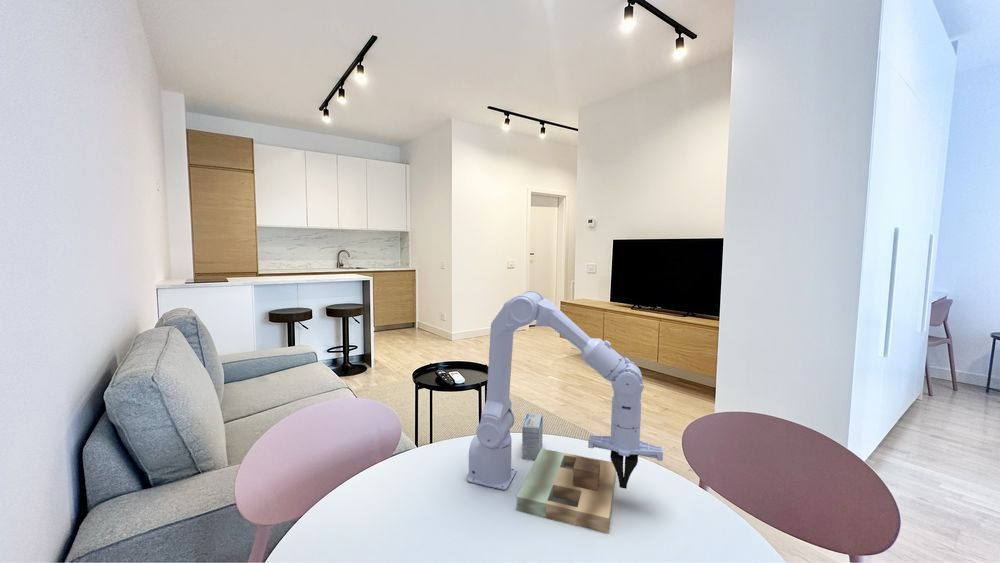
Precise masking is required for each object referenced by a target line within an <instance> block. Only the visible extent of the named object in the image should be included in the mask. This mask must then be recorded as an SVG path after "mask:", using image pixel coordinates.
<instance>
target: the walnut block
mask: <svg viewBox="0 0 1000 563" xmlns="http://www.w3.org/2000/svg"><path fill="white" fill-rule="evenodd" d="M580 456H581V455H578V456H577V458H576V461H575V464H574V468H573V486H575V487H580V488H584V489H589V490H594V491H597V489H598V484H599V478H600V460H601V459H599V460H595V459H596V458H594V459H590V458H591V457H588V458H585V457H586V456H583V457H580Z"/></svg>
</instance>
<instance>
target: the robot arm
mask: <svg viewBox="0 0 1000 563" xmlns="http://www.w3.org/2000/svg"><path fill="white" fill-rule="evenodd" d="M534 321H536V322H535V324H534V326H535V327H547V328H551V329H553V330H554V331H555V332H557V334H560V336H561V337H563V338H565V340H567V341H568V343H571V344H572V345H573V346H575V347H576V349H579V350H580V352H581V358H582V359H581V360H583V362H584V363H586V364H587V365H588V366H589V367H591V369H593V370H594V371H595V372H596V373H597V374H598V375H600V377H602V378H603V379H605V380H606V381H609V383H611V387H612V390H613V397H612V399H611V418H610V435H592V434H590V435H589V436H588V439H587V440H588V444H587V447H588V448H589V449H594V448H596V449H601V450H608V451H610V455H609V457H610V462H612V463H613V465H614V467H615V470H616V475H617V479H618V485H619V486H618V488H621V489H625V490H626V489H627V488H628V483H629V479H630V476H631V474H632V472H633V471H634V469H635V468H636V466H637V465H638V462H639V456H640V457H646V458H651V459H656V461H659V462H663V459H664V450H663V449H664V448H663V447H662V446H657V445H654V444H651V443H647V442H644V441H642V440H640V438H641V424H642V422H641V419H642V401H641V400H642V393H643V391H644V385H643V384H644V382H643V374H642V371H641V369H640V368H639V367H638V365H637V364H636V362H634V361H630V359H629V358H628V357H624V356H622V355H621V354H619V353H618V352H617V351H616V350H615V349H614V348H612V347H611V346H612V343H611V342H610V341H608V339H607V340H606V339H605V341H604V340H603V339H602V338H599V337H598V338H597V337H596V338H592V337H590V335H588V334H587V333H586V332H584V330H582V329H581V328H580V327H579V326H578V325H577V324H576V323H574V321H572V320H571V318H569V317H568V316H567V315H566V314H565V313H564V312H563V311H561V310H560V309H559V308H558V307H557V306H556V305H555V304H554V303H553V302H552V301H551V300H549V299H548V298H546V297H545V298H544V297H543V295H542V294H541V293H539V292H538V291H536V290H527V291H525V292H523V293H522V294H518V295H516V296H514V297H512V298H510V299H509V300H507V301H506V302H504V303H503V306H502V308H501V309H500V311H499V312H498V313H497V315H496V316H495V318H494V319H492V322H491V324H490V332H489V335H490V336H489V351H488V352H489V353H488V368H487V383H486V384H487V386H486V389H487V390H486V401H485V404H484V406H483V409H482V411H481V415H480V416H481V417H480V421H479V423H478V425H477V427H476V432H475V433H476V435H474V436H473V438H472V440H471V441H470V444H469V449H468V477H467V479H466V481H467V482H468V483H473V484H477V485H482V486H485V487H489V488H493V489H498V490H503V491H507V490H508V488H509V487H510V485H511V483H512V481H513V479H514V477H515V475H516V473H517V470H518V469H516V468H512V443H513V442H512V436H511V432H510V430H511V428H513V426H514V424H515V416H514V412H513V411H512V404H513V403H512V401H511V399H510V393H511V392H510V389H511V376H512V362H513V359H512V358H513V348H514V347H513V346H514V345H513V344H514V343H513V342H514V332H515V331H517V330H518V329H519V328H521V327H524V326H527V325H530V324H531V323H533V322H534Z"/></svg>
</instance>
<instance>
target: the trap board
mask: <svg viewBox="0 0 1000 563" xmlns="http://www.w3.org/2000/svg"><path fill="white" fill-rule="evenodd" d="M577 456H580V457H585V458H590V459H595V460H600V478H599V484H598V489H597V491H594V490H589V489H584V488H580V487H575V486H573V468H574V464H575V461H576V458H577ZM616 475H617V472H616V470H615V467H614V465H613V463H612V461H610V460H603V459H599V458H592V457H588V456H582V455H577V454H572V453H566V452H561V451H556V450H552V449H545V448H542V449H541V450H540V452H539V454H538V456H537V458H536V460H534V462H533V463H532V466H531V468H530V469H529V471H528V473H527V476H526V478H525V480H524V482H523V484H522V486H521V488H520V490H519V492H518V494H517V495H516V511H517V512H522V513H526V514H529V515H533V516H536V517H541V518H545V519H549V520H554V521H557V522H562V523H565V524H570V525H573V526H576V527H577V526H578V527H581V528H585V529H589V530H593V531H596V532H597V531H598V532H601V533H604V534H609V532H610V525H611V515H612V508H613V499H614V491H615V483H616Z"/></svg>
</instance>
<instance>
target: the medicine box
mask: <svg viewBox="0 0 1000 563" xmlns="http://www.w3.org/2000/svg"><path fill="white" fill-rule="evenodd" d="M543 420H544V419H543V414H538V413H537V414H535V413H526V416H525V418H524V423H523V425H522V427H521V428H522V429H521V430H522V432H521V433H522V435H521V438H522V439H521V440H522V444H521V449H522V452H521V453H522V454H521V455H522V457H521V458H522V459H525V460H532V461H535V460H536V458H537V456H538V454H539V452H540V450H541V449H543V425H544V424H543V423H544V421H543Z"/></svg>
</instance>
